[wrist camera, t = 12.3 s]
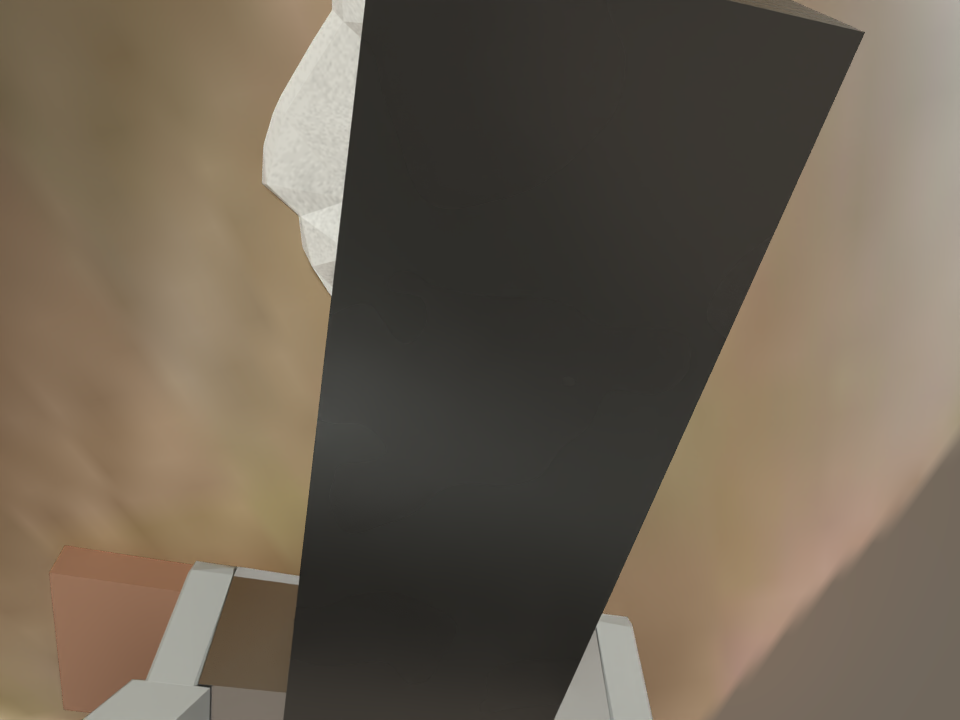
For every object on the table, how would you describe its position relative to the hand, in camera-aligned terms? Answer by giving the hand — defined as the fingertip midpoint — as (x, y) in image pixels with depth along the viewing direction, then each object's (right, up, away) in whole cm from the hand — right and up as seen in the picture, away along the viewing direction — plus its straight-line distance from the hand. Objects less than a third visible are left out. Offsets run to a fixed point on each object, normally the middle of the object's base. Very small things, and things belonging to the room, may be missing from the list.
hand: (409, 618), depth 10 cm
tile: (-10, -4, +16) cm, 19 cm away
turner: (0, 0, +2) cm, 2 cm away
